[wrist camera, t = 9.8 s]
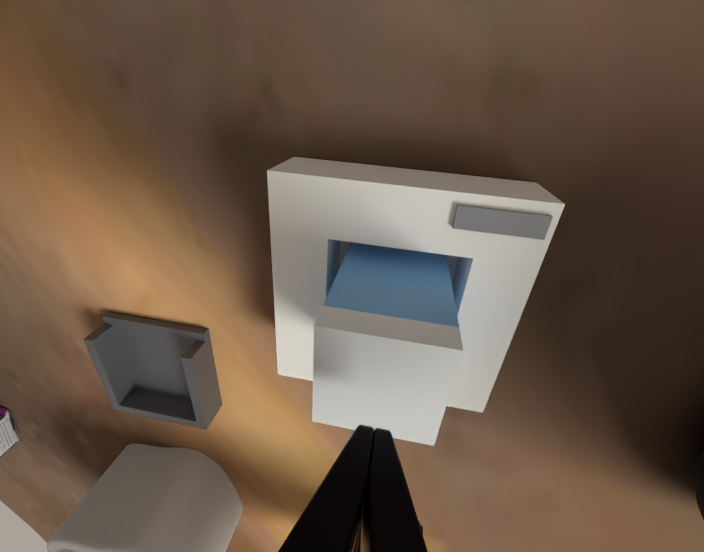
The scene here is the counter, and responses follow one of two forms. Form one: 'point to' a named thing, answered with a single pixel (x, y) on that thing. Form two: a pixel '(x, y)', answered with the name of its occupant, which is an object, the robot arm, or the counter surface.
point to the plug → (387, 343)
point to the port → (411, 234)
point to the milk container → (700, 483)
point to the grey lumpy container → (154, 505)
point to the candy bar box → (7, 431)
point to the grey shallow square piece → (156, 369)
